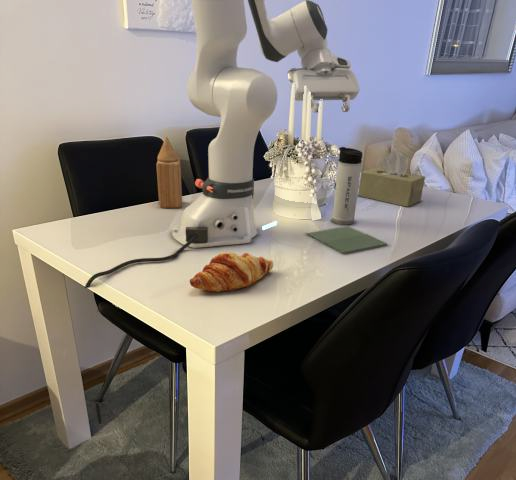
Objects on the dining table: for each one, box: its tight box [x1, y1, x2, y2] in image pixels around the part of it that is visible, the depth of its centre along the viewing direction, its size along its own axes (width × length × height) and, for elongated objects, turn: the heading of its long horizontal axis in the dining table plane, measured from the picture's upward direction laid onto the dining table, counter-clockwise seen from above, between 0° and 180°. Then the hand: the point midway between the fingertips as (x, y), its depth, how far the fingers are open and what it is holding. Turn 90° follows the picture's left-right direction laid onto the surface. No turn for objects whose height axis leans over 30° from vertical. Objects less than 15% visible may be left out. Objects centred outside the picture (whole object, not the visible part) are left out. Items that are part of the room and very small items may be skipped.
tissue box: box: [357, 148, 426, 208], centre depth 165 cm, size 19×10×16 cm, turn 51°
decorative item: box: [156, 136, 183, 209], centre depth 149 cm, size 7×7×20 cm
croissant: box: [189, 252, 274, 293], centre depth 106 cm, size 21×10×8 cm, turn 129°
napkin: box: [306, 226, 388, 255], centre depth 133 cm, size 14×16×1 cm
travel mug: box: [331, 146, 363, 226], centre depth 141 cm, size 6×7×20 cm
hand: (331, 110), depth 142 cm, fingers open, 8 cm apart
